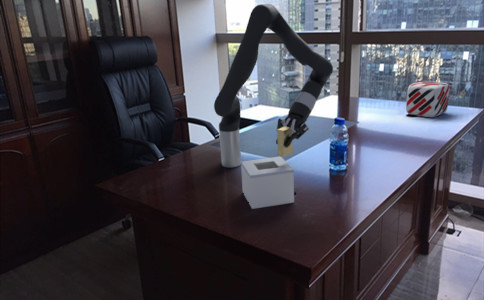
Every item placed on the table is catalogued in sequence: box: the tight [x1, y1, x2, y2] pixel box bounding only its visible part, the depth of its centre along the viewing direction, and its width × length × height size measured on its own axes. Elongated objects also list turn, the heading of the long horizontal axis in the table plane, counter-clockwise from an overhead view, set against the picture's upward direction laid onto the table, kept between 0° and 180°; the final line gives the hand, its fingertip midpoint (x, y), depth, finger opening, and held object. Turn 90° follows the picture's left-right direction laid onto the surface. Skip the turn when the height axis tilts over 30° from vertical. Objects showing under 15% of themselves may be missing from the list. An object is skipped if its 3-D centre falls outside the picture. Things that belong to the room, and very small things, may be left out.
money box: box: [240, 156, 295, 210], centre depth 151 cm, size 15×16×13 cm
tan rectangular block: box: [276, 127, 294, 158], centre depth 148 cm, size 3×5×10 cm, turn 133°
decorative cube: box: [405, 80, 451, 118], centre depth 253 cm, size 20×20×20 cm
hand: (281, 145), depth 147 cm, fingers closed on tan rectangular block, 3 cm apart
